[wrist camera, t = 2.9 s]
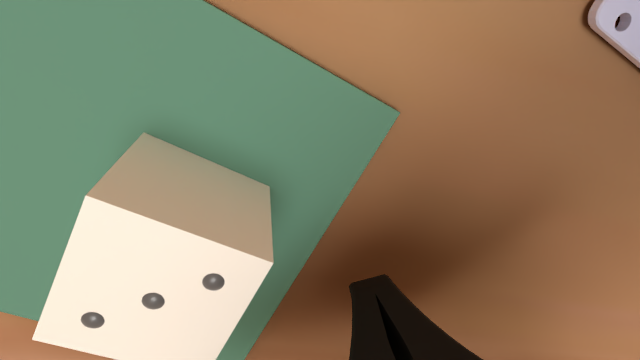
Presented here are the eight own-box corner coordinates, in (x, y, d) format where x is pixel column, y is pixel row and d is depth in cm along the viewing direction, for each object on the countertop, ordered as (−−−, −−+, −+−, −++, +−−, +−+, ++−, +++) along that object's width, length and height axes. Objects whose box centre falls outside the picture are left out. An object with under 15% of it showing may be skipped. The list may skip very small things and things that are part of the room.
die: (269, 186, 12) (273, 266, 8) (218, 278, 13) (202, 383, 10) (139, 130, 11) (78, 195, 7) (96, 238, 12) (24, 341, 8)
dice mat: (396, 109, 12) (400, 112, 12) (237, 362, 16) (237, 370, 15) (8, -112, 9) (-3, -117, 8) (-80, 280, 12) (-91, 288, 12)
